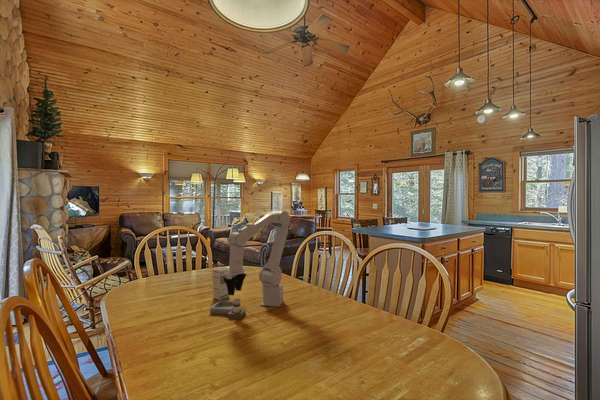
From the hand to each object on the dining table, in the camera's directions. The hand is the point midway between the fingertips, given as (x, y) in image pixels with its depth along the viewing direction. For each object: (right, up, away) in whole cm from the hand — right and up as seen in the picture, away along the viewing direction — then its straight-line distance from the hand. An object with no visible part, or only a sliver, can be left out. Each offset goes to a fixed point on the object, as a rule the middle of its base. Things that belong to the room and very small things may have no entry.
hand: (234, 292), depth 131 cm
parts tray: (-6, -10, +6) cm, 13 cm away
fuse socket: (+1, -10, 0) cm, 10 cm away
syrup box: (-12, -10, +24) cm, 28 cm away
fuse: (+1, -10, 0) cm, 10 cm away
